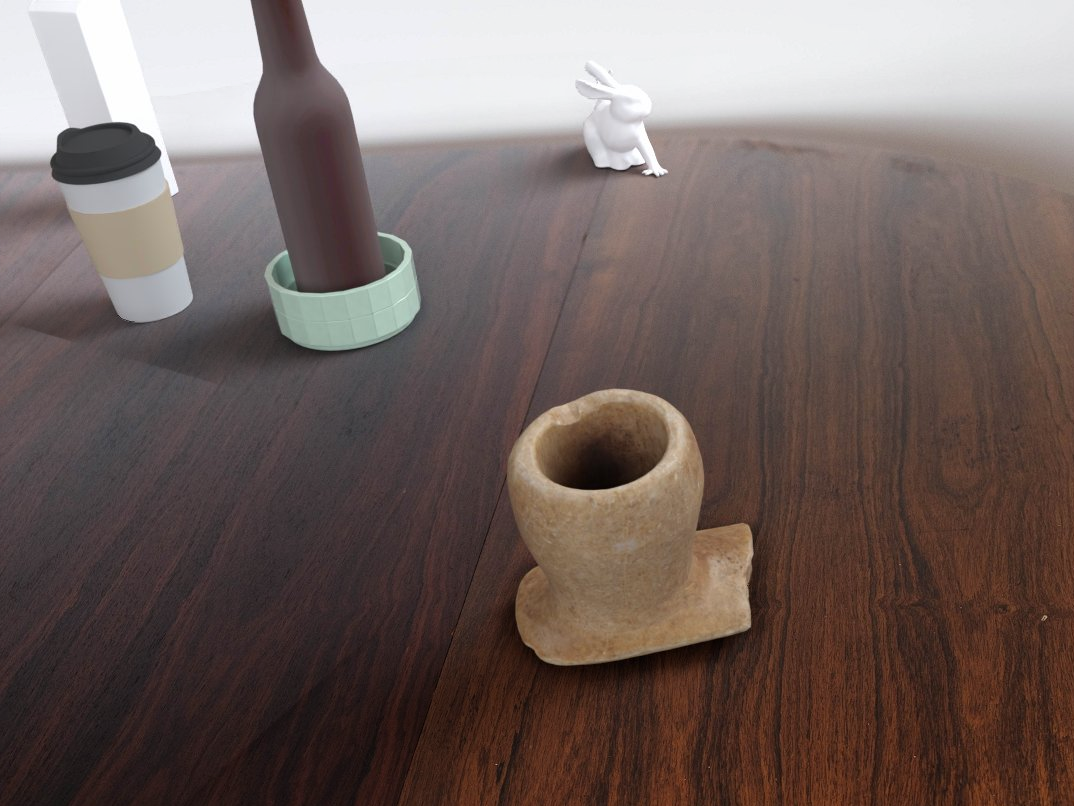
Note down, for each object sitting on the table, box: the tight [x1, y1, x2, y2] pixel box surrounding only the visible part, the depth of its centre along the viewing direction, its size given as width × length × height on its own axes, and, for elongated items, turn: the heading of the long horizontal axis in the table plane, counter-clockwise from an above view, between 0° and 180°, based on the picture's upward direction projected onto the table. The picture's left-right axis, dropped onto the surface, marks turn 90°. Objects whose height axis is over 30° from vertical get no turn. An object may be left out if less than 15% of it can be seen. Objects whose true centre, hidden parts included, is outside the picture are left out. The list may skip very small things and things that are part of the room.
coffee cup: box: [49, 122, 194, 323], centre depth 111 cm, size 9×9×15 cm
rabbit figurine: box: [575, 60, 669, 177], centre depth 128 cm, size 12×8×10 cm, turn 20°
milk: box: [27, 0, 180, 198], centre depth 127 cm, size 6×6×22 cm
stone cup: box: [506, 388, 754, 666], centre depth 73 cm, size 15×12×15 cm
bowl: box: [263, 231, 422, 352], centre depth 109 cm, size 12×12×5 cm
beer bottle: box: [250, 0, 386, 293], centre depth 100 cm, size 8×8×30 cm
